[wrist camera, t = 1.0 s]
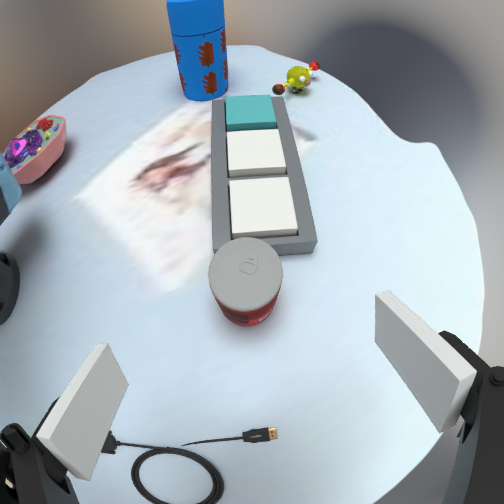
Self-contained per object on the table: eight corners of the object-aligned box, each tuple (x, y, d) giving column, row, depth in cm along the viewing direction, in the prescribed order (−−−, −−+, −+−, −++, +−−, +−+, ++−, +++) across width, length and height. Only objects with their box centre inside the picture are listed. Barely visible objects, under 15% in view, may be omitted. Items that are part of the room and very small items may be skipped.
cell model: (77, 172, 49) (52, 136, 38) (11, 208, 46) (-17, 182, 36) (80, 125, 55) (63, 92, 45) (20, 159, 52) (-1, 132, 42)
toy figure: (285, 112, 54) (288, 87, 48) (264, 103, 55) (265, 78, 49) (325, 82, 60) (329, 60, 53) (306, 74, 61) (309, 52, 55)
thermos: (234, 79, 60) (229, -12, 37) (221, 103, 55) (211, 0, 33) (192, 76, 61) (179, -9, 38) (175, 100, 56) (155, 5, 33)
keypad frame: (216, 260, 41) (212, 249, 37) (213, 115, 54) (212, 100, 50) (312, 252, 42) (317, 241, 38) (281, 111, 54) (282, 96, 51)
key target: (227, 138, 48) (226, 124, 45) (226, 110, 52) (225, 97, 48) (275, 135, 48) (276, 121, 45) (269, 108, 52) (270, 94, 49)
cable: (286, 504, 27) (287, 508, 26) (103, 498, 26) (99, 501, 24) (275, 425, 32) (275, 427, 31) (87, 425, 31) (82, 426, 30)
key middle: (230, 184, 44) (228, 170, 41) (228, 146, 47) (226, 132, 44) (284, 180, 44) (286, 166, 41) (276, 143, 48) (278, 129, 44)
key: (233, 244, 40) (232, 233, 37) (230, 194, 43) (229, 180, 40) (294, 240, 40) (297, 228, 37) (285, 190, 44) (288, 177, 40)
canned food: (275, 271, 40) (283, 237, 30) (274, 327, 37) (282, 312, 27) (221, 269, 41) (211, 234, 31) (217, 325, 37) (204, 308, 27)
